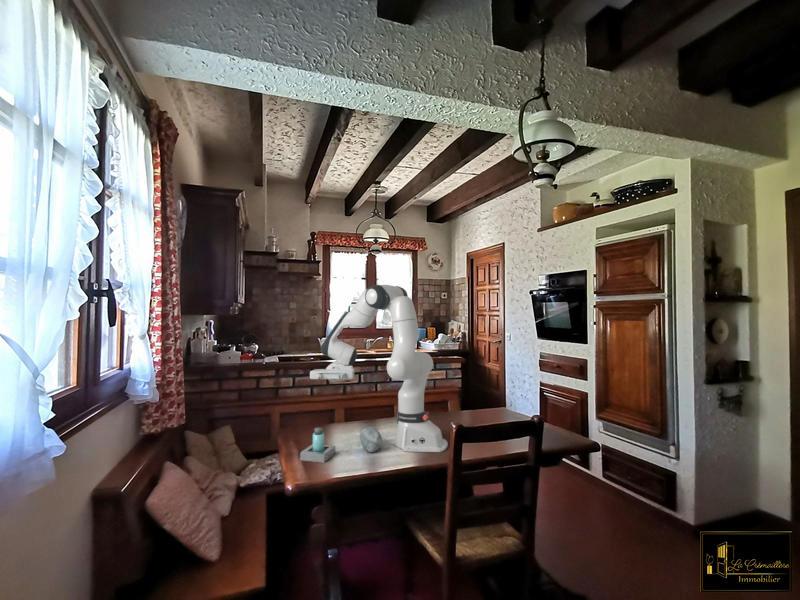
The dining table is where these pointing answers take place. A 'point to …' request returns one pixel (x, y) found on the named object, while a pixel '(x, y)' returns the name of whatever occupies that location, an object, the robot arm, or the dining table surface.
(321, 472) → the dining table surface
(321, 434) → the bottle
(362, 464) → the dining table surface
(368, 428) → the spool
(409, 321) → the robot arm
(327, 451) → the housing
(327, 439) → the dining table surface
